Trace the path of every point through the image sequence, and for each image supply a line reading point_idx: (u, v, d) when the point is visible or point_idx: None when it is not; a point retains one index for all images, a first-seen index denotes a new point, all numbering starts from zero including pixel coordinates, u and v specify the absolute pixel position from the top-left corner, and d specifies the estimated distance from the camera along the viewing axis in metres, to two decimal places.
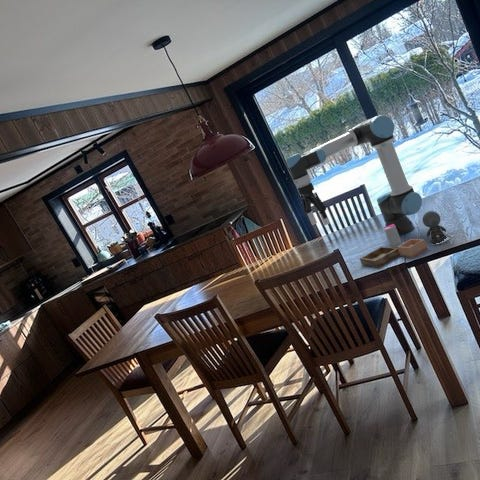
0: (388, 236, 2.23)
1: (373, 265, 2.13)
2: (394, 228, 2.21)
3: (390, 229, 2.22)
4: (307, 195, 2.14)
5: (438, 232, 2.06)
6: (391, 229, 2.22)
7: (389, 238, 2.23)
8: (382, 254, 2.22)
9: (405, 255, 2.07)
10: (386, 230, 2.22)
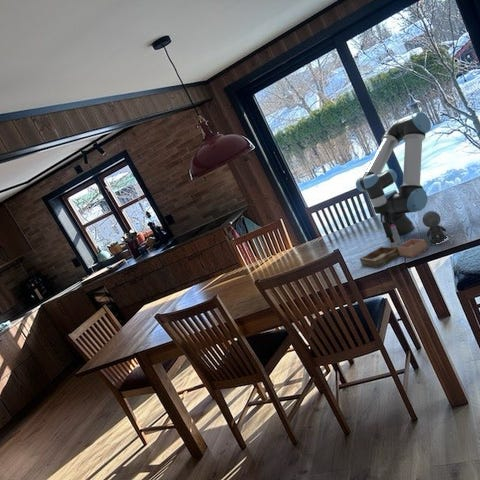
0: None
1: (373, 265, 2.13)
2: (394, 228, 2.21)
3: None
4: None
5: (438, 232, 2.06)
6: (391, 229, 2.22)
7: None
8: (382, 254, 2.22)
9: (405, 255, 2.07)
10: None
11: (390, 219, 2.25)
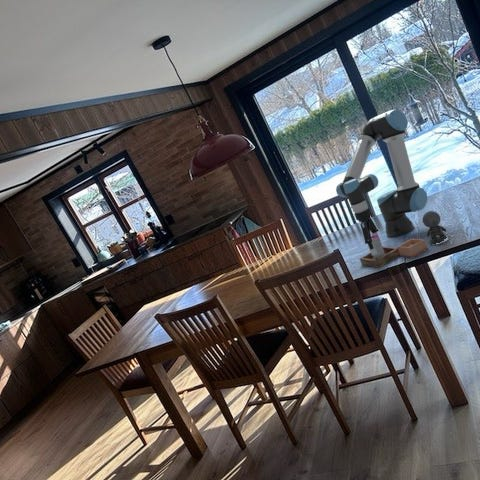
0: None
1: (373, 265, 2.13)
2: (377, 239, 2.13)
3: (373, 240, 2.14)
4: None
5: (438, 232, 2.06)
6: (374, 240, 2.14)
7: None
8: None
9: (405, 255, 2.07)
10: None
11: (372, 224, 2.17)
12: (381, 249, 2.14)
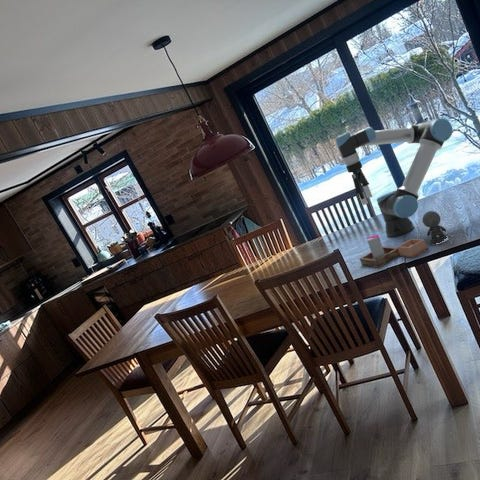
0: (371, 247, 2.15)
1: (373, 265, 2.13)
2: (377, 239, 2.13)
3: (373, 240, 2.14)
4: None
5: (438, 232, 2.06)
6: (374, 240, 2.14)
7: (372, 249, 2.15)
8: None
9: (405, 255, 2.07)
10: (369, 241, 2.15)
11: (363, 177, 2.29)
12: (381, 249, 2.14)
